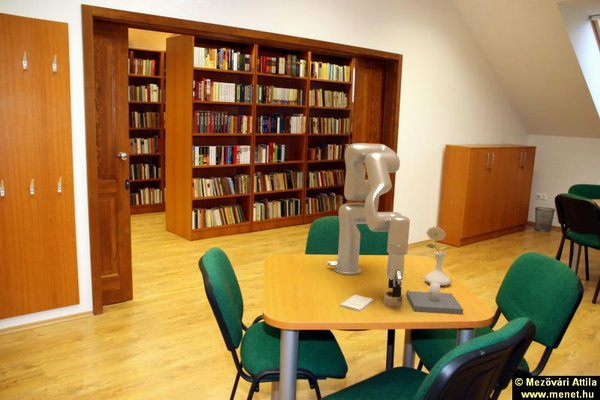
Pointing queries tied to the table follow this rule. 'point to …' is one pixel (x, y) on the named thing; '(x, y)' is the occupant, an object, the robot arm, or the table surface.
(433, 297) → the piston stand
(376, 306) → the table surface
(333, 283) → the table surface
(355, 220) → the robot arm
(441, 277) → the flower in vase
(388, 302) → the bronze ring
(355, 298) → the external hard drive
